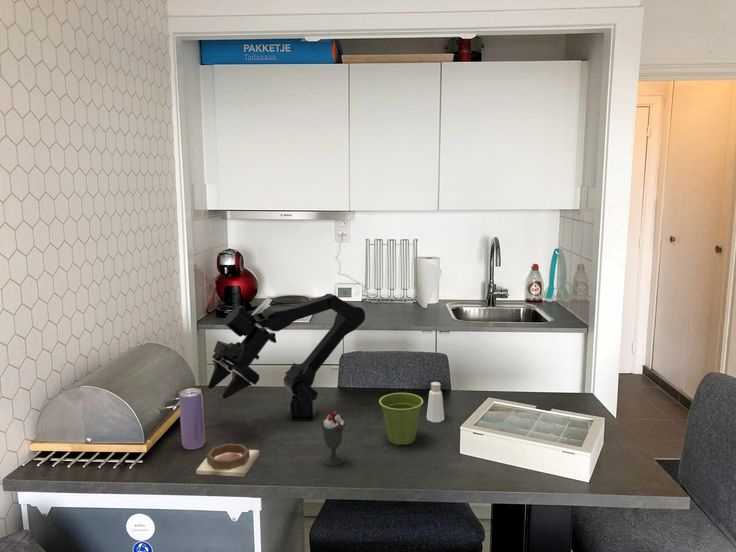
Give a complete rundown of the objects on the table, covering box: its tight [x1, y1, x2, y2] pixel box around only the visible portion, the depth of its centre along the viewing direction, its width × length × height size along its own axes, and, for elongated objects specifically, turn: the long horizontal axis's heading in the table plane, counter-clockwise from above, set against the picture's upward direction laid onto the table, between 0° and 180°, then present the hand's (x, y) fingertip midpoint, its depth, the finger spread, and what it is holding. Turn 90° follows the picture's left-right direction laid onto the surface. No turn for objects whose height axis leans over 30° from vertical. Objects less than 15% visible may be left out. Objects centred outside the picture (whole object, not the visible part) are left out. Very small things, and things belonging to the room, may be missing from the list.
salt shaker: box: [426, 381, 445, 423], centre depth 176 cm, size 5×5×11 cm
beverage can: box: [178, 387, 206, 450], centre depth 161 cm, size 6×6×15 cm
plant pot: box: [378, 392, 424, 446], centre depth 163 cm, size 12×12×11 cm
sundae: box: [319, 407, 347, 467], centre depth 151 cm, size 7×7×15 cm
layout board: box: [195, 443, 260, 478], centre depth 151 cm, size 12×12×3 cm
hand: (216, 392), depth 164 cm, fingers open, 9 cm apart
